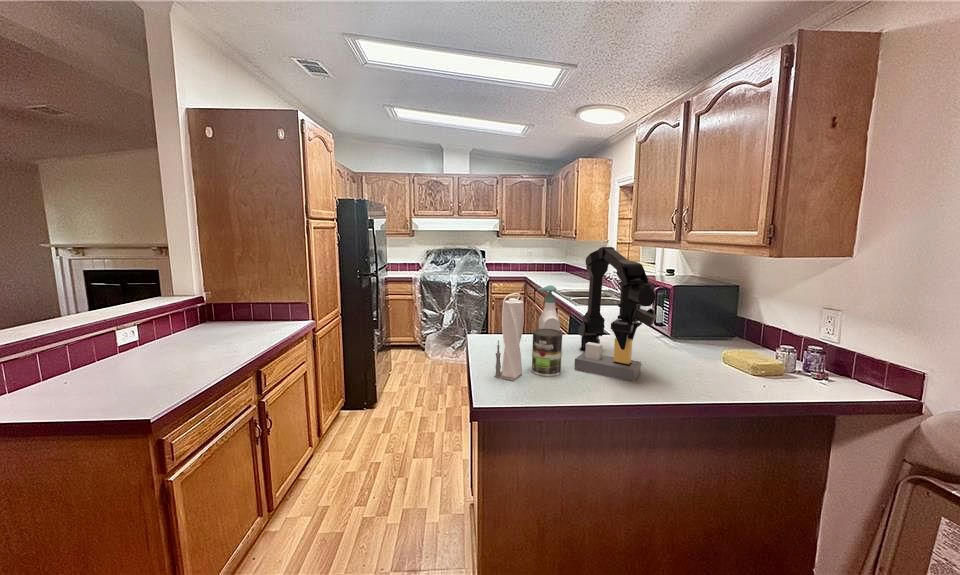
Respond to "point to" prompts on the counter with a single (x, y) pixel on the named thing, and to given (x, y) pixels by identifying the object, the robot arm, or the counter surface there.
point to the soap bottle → (549, 311)
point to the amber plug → (623, 352)
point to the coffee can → (547, 352)
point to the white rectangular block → (593, 351)
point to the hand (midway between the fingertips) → (626, 346)
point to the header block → (608, 367)
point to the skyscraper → (511, 339)
